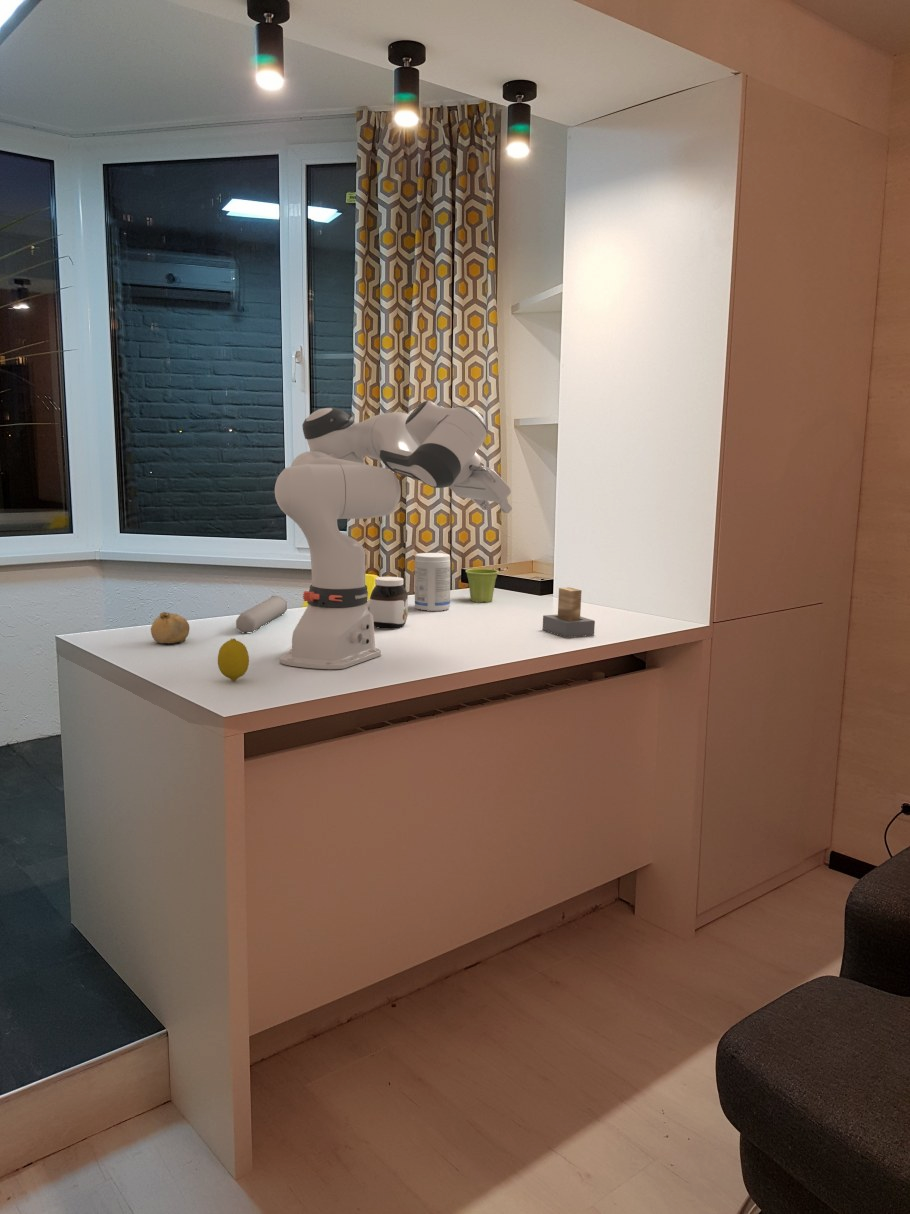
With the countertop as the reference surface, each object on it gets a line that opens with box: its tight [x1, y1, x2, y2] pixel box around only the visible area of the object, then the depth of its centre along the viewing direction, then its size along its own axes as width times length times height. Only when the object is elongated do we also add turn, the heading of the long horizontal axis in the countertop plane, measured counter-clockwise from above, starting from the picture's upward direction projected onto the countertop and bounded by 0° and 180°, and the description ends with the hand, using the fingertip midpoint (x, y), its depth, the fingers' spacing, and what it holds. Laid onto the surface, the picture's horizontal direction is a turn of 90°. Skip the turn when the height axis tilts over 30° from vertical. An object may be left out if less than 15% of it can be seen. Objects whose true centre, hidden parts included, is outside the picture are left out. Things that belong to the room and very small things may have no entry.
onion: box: [150, 611, 191, 644], centre depth 197 cm, size 8×8×7 cm
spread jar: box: [366, 576, 409, 629], centre depth 222 cm, size 12×11×12 cm
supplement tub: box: [414, 552, 451, 612], centre depth 245 cm, size 10×10×15 cm
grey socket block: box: [542, 613, 596, 638], centre depth 219 cm, size 8×10×4 cm
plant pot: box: [465, 568, 500, 603], centre depth 260 cm, size 9×9×9 cm
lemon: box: [217, 638, 250, 682], centre depth 166 cm, size 6×6×8 cm
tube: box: [235, 595, 288, 633], centre depth 220 cm, size 5×5×25 cm
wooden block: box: [557, 586, 582, 621], centre depth 218 cm, size 3×5×10 cm, turn 28°
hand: (497, 509), depth 206 cm, fingers open, 8 cm apart
